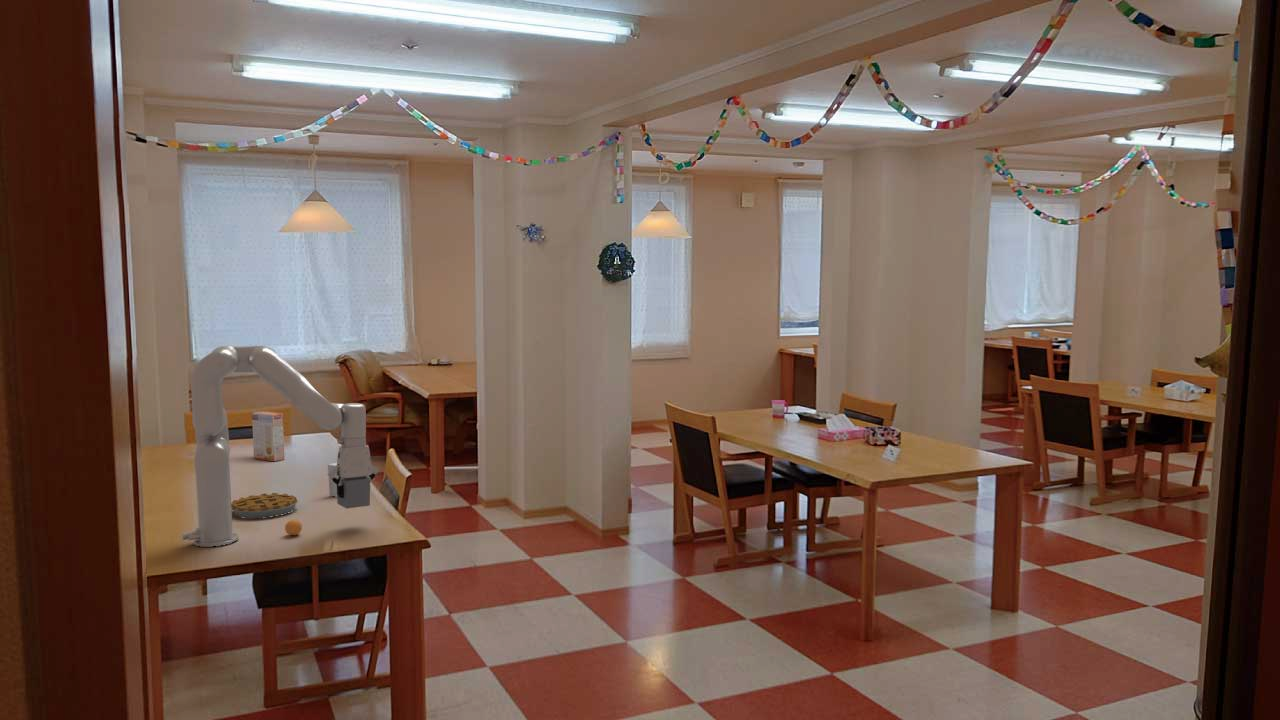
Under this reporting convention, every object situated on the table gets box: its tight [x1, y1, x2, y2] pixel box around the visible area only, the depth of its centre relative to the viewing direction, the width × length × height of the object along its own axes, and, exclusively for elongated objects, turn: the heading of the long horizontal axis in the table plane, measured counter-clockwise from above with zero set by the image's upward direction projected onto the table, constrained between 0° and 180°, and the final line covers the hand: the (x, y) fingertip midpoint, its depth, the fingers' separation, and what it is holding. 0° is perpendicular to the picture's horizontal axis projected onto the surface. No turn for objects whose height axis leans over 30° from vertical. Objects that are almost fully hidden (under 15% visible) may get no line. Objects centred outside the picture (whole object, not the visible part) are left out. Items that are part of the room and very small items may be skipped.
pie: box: [231, 492, 299, 519], centre depth 328 cm, size 22×22×5 cm
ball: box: [284, 519, 303, 536], centre depth 299 cm, size 5×5×5 cm
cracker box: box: [251, 410, 285, 462], centre depth 417 cm, size 14×6×21 cm, turn 58°
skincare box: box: [327, 462, 339, 498], centre depth 351 cm, size 6×4×12 cm
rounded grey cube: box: [336, 477, 371, 509], centre depth 306 cm, size 8×8×9 cm
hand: (353, 495), depth 306 cm, fingers closed on rounded grey cube, 7 cm apart
